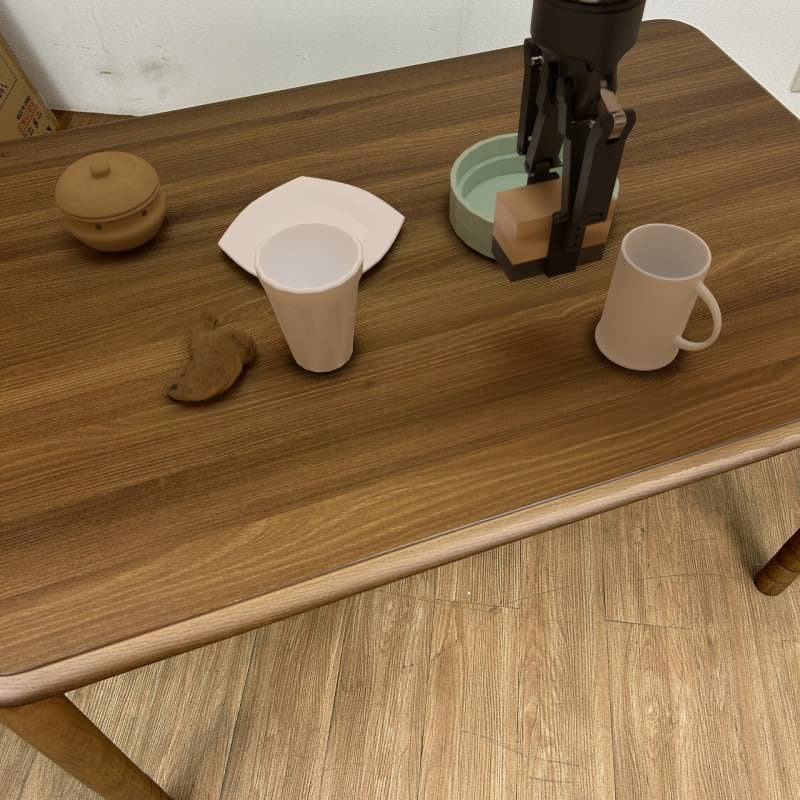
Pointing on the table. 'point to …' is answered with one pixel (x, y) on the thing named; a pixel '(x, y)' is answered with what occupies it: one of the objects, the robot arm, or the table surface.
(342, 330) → the cup
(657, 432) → the table surface
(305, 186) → the plate
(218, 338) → the ginger root
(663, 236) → the mug
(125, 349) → the table surface
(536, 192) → the block
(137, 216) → the pot
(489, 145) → the bowl
